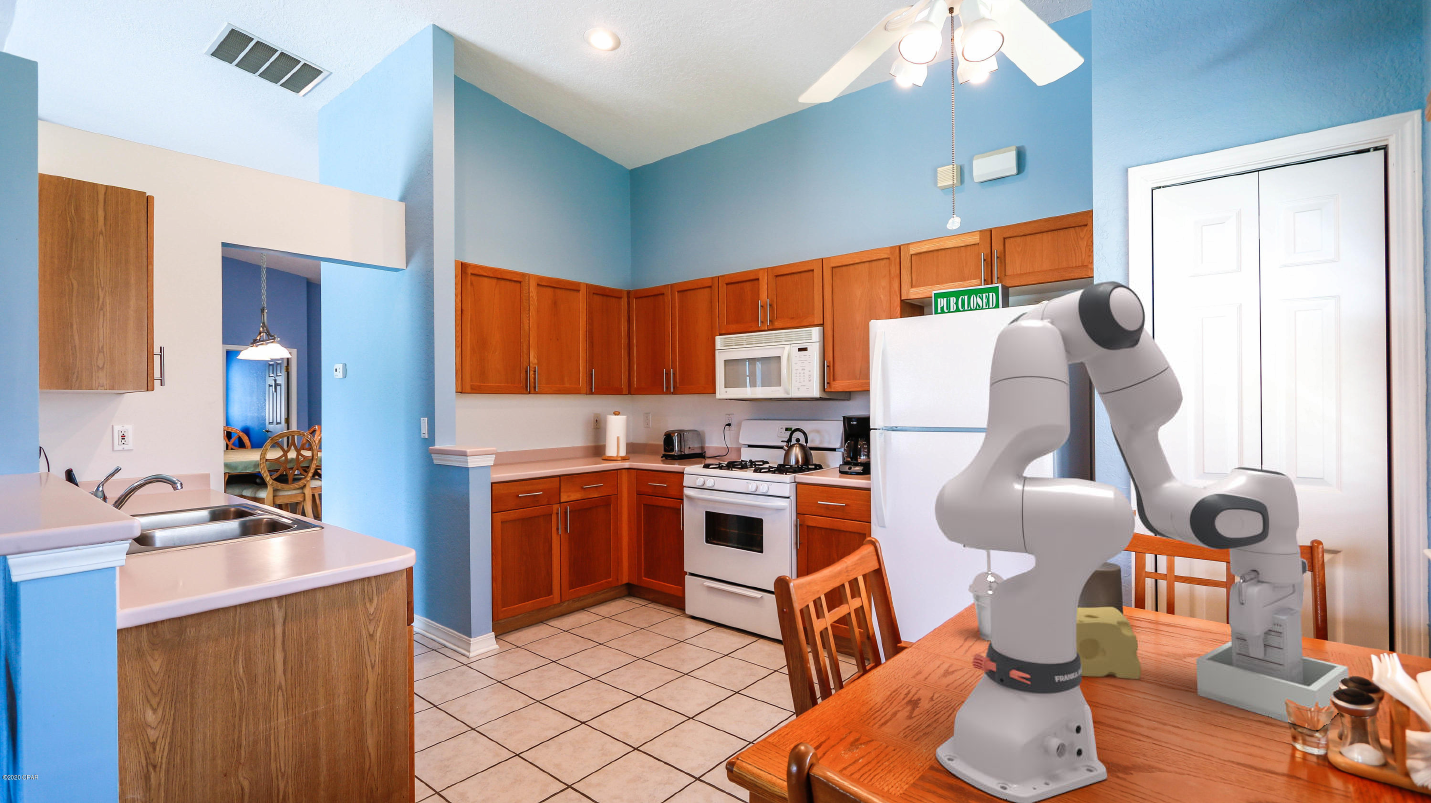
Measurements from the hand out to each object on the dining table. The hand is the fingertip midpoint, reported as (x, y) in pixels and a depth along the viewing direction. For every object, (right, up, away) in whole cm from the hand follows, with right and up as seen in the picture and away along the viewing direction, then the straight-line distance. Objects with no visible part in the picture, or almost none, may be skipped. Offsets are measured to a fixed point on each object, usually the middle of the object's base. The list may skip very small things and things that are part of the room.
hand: (1268, 650), depth 104 cm
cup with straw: (-32, -10, +31) cm, 46 cm away
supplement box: (0, -6, 0) cm, 6 cm away
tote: (0, -8, 0) cm, 8 cm away
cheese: (-19, -9, +14) cm, 26 cm away
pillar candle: (-7, -9, +35) cm, 37 cm away
